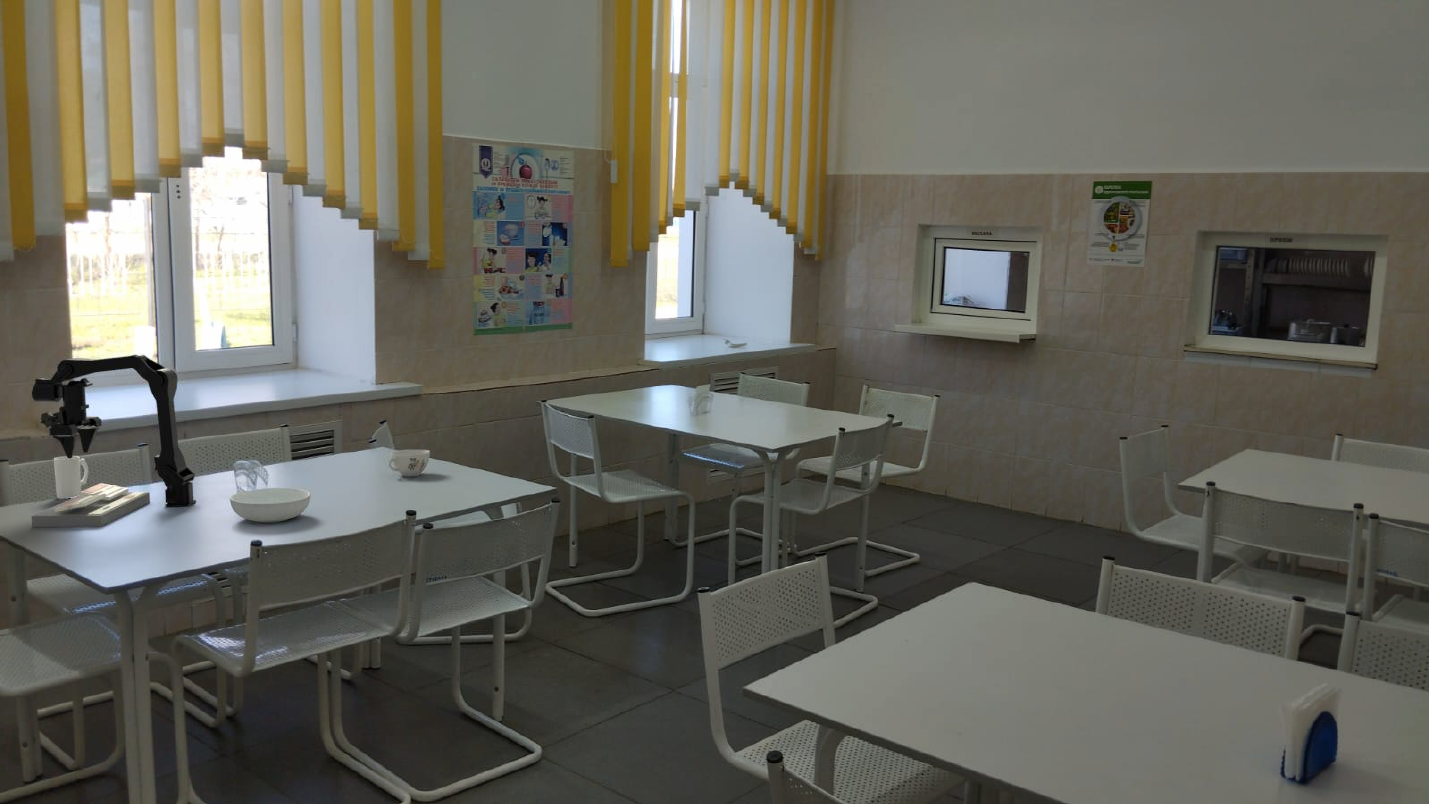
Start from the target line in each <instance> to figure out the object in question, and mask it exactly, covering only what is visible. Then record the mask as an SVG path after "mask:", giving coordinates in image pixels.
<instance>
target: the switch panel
mask: <svg viewBox="0 0 1429 804" xmlns="http://www.w3.org/2000/svg"><path fill="white" fill-rule="evenodd" d="M150 496H151V493H150V492H148V491H147V492H146V491H133V492H132V491H131V492H130V491H128V492H126V493H124V494H122V495H120V496H118V497H116V498H113V499H111V500H103V499H100V500H98V501H95V502H93V503H91V504H89V505H87V506H84V507H78V508H73V509H71V510H69V509H68V510H62V511H57V512H55V509H54V508H56V507H58V506H60V505H62V504H65V503H67V502H69V501H72V500H74V499H78V498H83V497H87V496H81V495H79V496H77V497H75V498H72V499H67V500H66V501H63V502H60V503H59V504H56V505H54V506H51V507H49V508H47V509H45V510H42V511H40V512H37V513H35V514H33V515H31V527H33V528H51V527H52V528H72V527H73V528H75V527H76V528H78V527H81V528H83V527H84V528H85V527H86V528H87V527H89V528H91V527H92V528H93V527H94V528H95V527H96V528H98V527H99V528H101V527H104V526H106V525H108V524H110V523H112V522H114V521H115V520H118V519H119V518H121V517H124V516H125V515H128V514H130V513H132V512H134V511H135V510H137V509H140V508H141V507H144V506H145V504H146V503H148V502H150V503H151V497H150ZM148 504H149V503H148ZM143 505H144V506H143ZM146 505H147V504H146Z"/></svg>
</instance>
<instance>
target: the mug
mask: <svg viewBox="0 0 1429 804" xmlns="http://www.w3.org/2000/svg"><path fill="white" fill-rule="evenodd" d="M53 466H54V467H53V468H54V478H55V479H54V480H55V488H56V489H55V491H56V498H57V499H59V500H65V499H64V498H68V497H74V496H78V495H80V492H81V491H82V486H84V485H86V484H87V480H88V476H89V467H88V464H87V462H86V460H85V458H83V457H82V458H81V459H80V456H78V455H73V456H72V458H67V456H66V455H65V456H57V457H54V458H53ZM81 466H82V467H83V471H84V473H83V477H82V479H81Z"/></svg>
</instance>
